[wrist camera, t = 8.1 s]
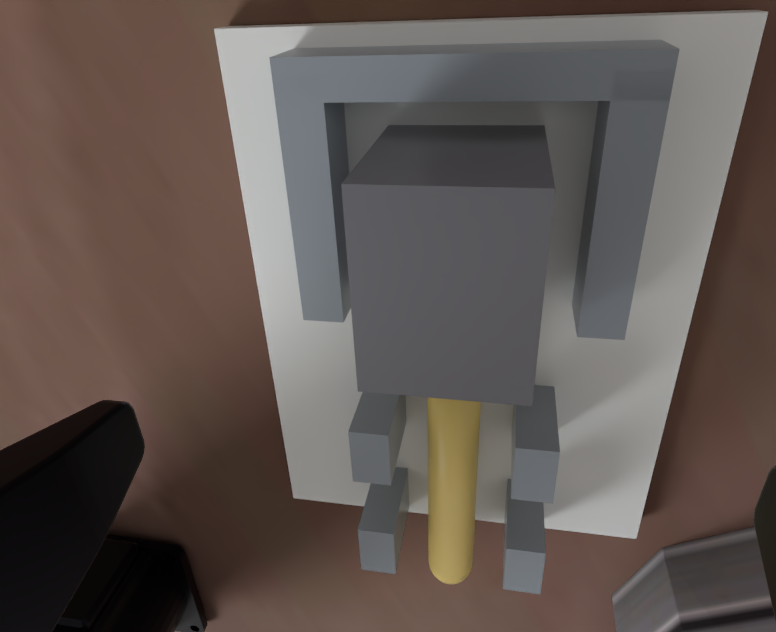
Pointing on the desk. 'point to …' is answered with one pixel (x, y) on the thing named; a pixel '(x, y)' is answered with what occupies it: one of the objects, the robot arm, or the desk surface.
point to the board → (565, 257)
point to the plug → (450, 292)
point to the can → (699, 589)
